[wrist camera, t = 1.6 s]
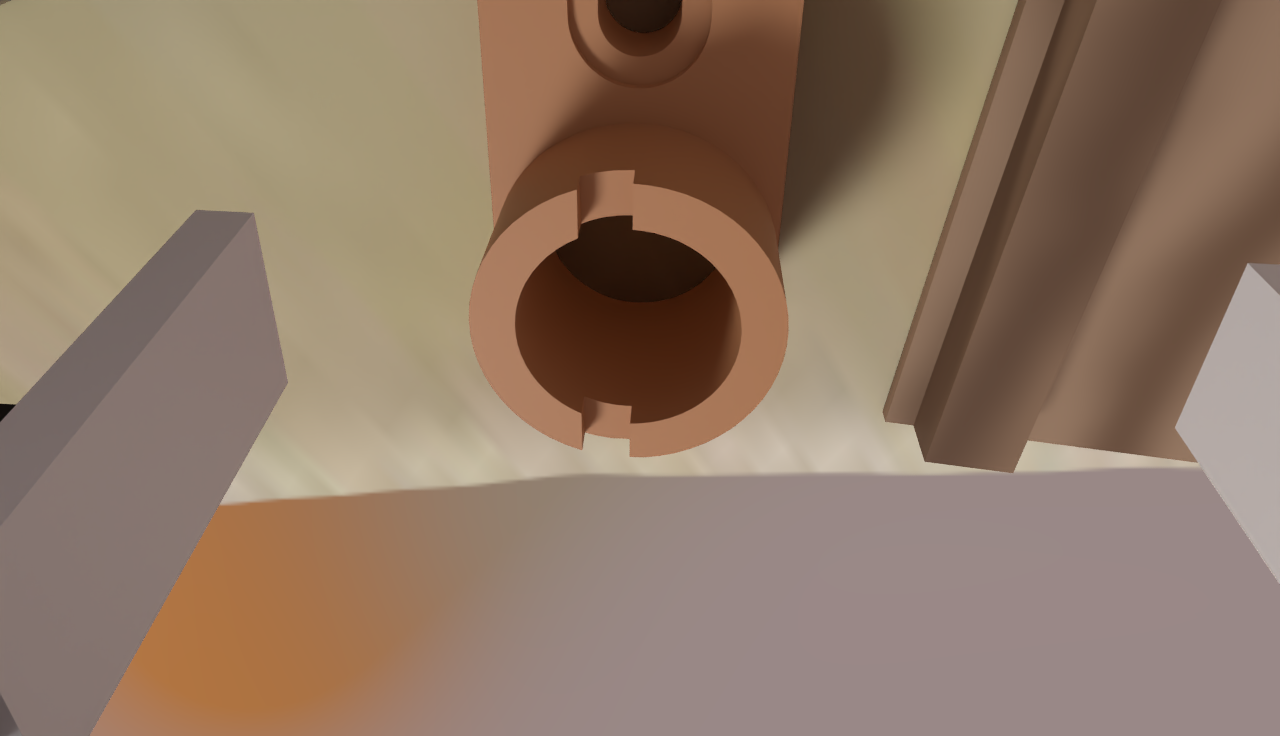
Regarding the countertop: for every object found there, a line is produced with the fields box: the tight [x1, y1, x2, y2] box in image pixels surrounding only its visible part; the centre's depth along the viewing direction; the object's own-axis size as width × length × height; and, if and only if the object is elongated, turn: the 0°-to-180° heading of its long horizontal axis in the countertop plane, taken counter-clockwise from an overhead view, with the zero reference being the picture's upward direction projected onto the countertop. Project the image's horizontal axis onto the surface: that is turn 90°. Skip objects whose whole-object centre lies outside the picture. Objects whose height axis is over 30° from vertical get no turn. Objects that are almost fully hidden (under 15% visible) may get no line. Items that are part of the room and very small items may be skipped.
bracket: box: [469, 0, 804, 457], centre depth 26 cm, size 18×8×7 cm, turn 179°
